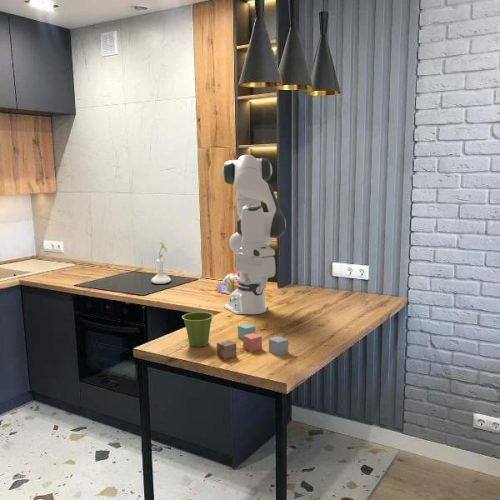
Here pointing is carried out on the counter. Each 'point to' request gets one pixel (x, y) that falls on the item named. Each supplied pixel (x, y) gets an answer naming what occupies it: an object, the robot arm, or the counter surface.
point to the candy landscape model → (228, 283)
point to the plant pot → (198, 327)
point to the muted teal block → (245, 330)
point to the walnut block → (226, 349)
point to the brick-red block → (252, 342)
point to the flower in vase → (161, 270)
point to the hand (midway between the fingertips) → (255, 286)
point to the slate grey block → (278, 345)
